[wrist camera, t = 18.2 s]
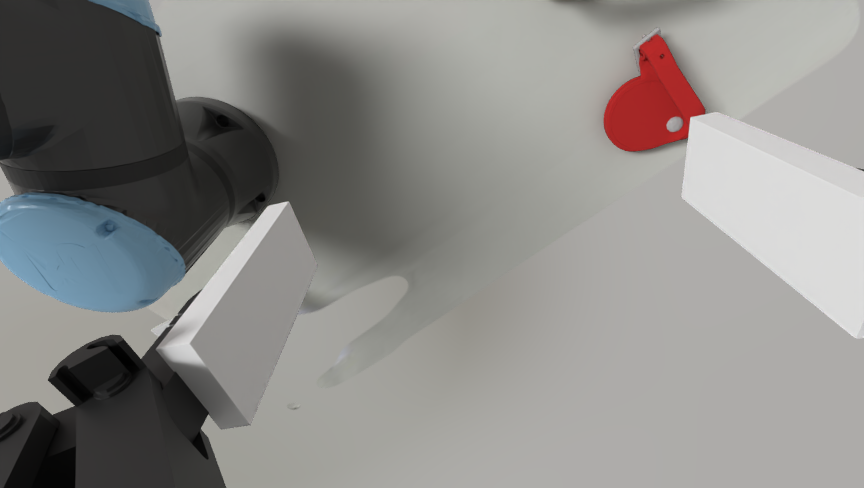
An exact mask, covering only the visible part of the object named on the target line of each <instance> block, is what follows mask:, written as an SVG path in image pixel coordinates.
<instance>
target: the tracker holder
mask: <svg viewBox="0 0 864 488" xmlns="http://www.w3.org/2000/svg"><path fill="white" fill-rule="evenodd" d="M633 50H634V54H635V58H636V62H637V66H638V71H639V72H640V73H641V76H638V77H636V78H633V79H631V80H629V81H628V82H626V83H625V84H623V85H622V86H621V87H620V88H619V89H618V90H617V91H616V92H615V93H614V94H613V96H612V97H611V99H610V100H609V102H608V104H607V107H606V110H605V113H604V128H605V132H606V134H607V136H608V138H609V139H610V140H611V141H612V143H613V144H614V145H616V146H617V147H618V148H620V149H622V150H625V151H641V150H647V149H652V148H655V147H658V146H661V145H664V144H667V143H670V142H674V141H678V140H683V139H686V138H688V135H689V126H690V117H694V116H699V115H704V114H705V108H704V106H703V105H702V103H701V101H700V100H699V98H698V97H697V95H696V94H695V92H694V91H693V89H692V88H691V86H690V85H689V83H688V82H687V80H686V79H685V77H684V76H683V74H682V72H681V71H680V69H679V68H678V66H677V64H676V62H675V60H674V58H673V56H672V54H671V52H670V50H669V48H668V46H667V44H666V43H665V41H664V40H663V39H662V38H661V33H660V28H656V29H654V30H653V31H652V32H651V33H649V34H648V35H647V36H646V35H643V36H642V40H641V41H639V42H638V43H637V44H636V45H635V46H634V47H633ZM662 56H663V57H662Z"/></svg>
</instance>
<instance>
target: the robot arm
mask: <svg viewBox="0 0 864 488" xmlns="http://www.w3.org/2000/svg"><path fill="white" fill-rule="evenodd" d="M161 36H162V34H161V30H160V27H159V26H158V25H157V24H156V23H155V20H154V16H153V13H152V10H151V6H150V3H149V0H0V166H1V168H2V170H3V172H4V174H5V176H6V178H7V180H8V182H9V184H10V186H11V188H12V190H13V192H14V194H15V195H14V196H11V197H10V198H6V199H5V200H3V201H2V202H0V260H1V262H2V263H3V264H4V265H5V266H6V267H7V268H8V269H9V270H10V271H11V272H12V273H14V274H15V275H16V276H17V277H18V278H20V279H21V280H22V281H24V282H26V283H27V284H28V285H30V286H31V287H33V288H35V289H36V290H38V291H40V292H42V293H43V294H46V295H49V296H51V297H53V298H55V299H57V300H59V301H61V302H64V303H67V304H69V305H72V306H76V307H79V308H84V309H88V310H93V311H100V312H127V311H133V310H138V309H141V308H144V307H146V306H149V305H150V304H152V303H154V302H155V301H157V300H158V299H159V298H161V297H162V296H163V295H164V294H165V293H166V292H167V291H168V290H169V289H170V288H171V287H172V286H175V285H176V284H177V283H178V282H180V281H181V280H182V279H183V277H184V276H185V274H186V273H187V272H188V270H189V269H190V268H191V267H192V266H193V265H194V263H195V262H196V261H197V260H198V259H199V258H200V256H201V255H202V254H203V253H204V252H205V251H206V249H207V248H208V247H209V246H210V245H211V243H212V242H213V241H214V240H215V239H216V238H217V236H218V235H219V234H220V233H221V232H222V230H223V229H224V228H226V227H229V226H231V225H234V224H237V223H240V222H242V221H245V220H247V219H249V218H251V217H253V216H254V215H256V214H257V213H258V212H260V211H261V210H262V209H263V207H264V206H265V205H266V204H267V203H268V201H269V200H270V199H271V197H272V196H273V194H274V192H275V189H276V187H277V182H278V164H277V159H276V156H275V153H274V150H273V148H272V146H271V144H270V142H269V140H268V138H267V137H266V135H265V134H264V133H263V131H262V130H261V129H260V128H259V127H258V126H257V125H256V123H255V122H253V121H252V120H251V119H250V118H249V117H248V116H247V115H245V114H244V113H242V112H241V111H239V110H238V109H236V108H234V107H233V106H230V105H228V104H226V103H224V102H221V101H218V100H214V99H210V98H204V97H189V98H183V99H179V100H175V96H174V93H173V89H172V85H171V81H170V77H169V73H168V69H167V65H166V61H165V57H164V53H163V49H162V45H161V41H160V37H161ZM681 198H683V199H684V200H685V201H686V202H688V203H689V204H690V205H691V206H692V207H694V208H695V209H696V210H698V211H699V212H700V213H701V214H702V215H704V216H705V217H706V218H707V219H709V220H710V221H711V222H712V223H714V224H715V225H716V226H717V227H718V228H720V229H721V230H722V231H723V232H725V233H726V234H727V235H728V236H730V237H731V238H732V239H733V240H735V241H736V242H737V243H738V244H740V245H741V246H742V247H743V248H745V249H746V250H747V251H748V252H749V253H751V254H752V255H753V256H754V257H756V258H757V259H758V260H759V261H760V262H762V263H763V264H764V265H765V266H767V267H768V268H769V269H770V270H772V271H773V272H774V273H775V274H776V275H778V276H779V277H780V278H781V279H783V280H784V281H785V282H786V283H788V284H789V285H790V286H791V287H793V288H794V289H795V290H796V291H798V292H799V293H800V294H801V295H802V296H804V297H805V298H806V299H807V300H809V301H810V302H811V303H812V304H814V305H815V306H816V307H817V308H818V309H820V310H821V311H822V312H823V313H825V314H826V315H827V316H828V317H830V318H831V319H832V320H833V321H835V322H836V323H837V324H838V325H839V326H841V327H842V328H843V329H844V330H846V331H847V332H848V333H849V334H851V335H852V336H853V337H854V338H856V339H857V338H864V170H863V169H859V168H854V167H851V166H849V165H847V164H844V163H842V162H839V161H837V160H834V159H832V158H829V157H827V156H824V155H822V154H820V153H817V152H815V151H812V150H810V149H807V148H805V147H802V146H800V145H798V144H795V143H793V142H790V141H788V140H785V139H783V138H780V137H778V136H775V135H773V134H771V133H768V132H766V131H763V130H761V129H758V128H756V127H753V126H751V125H748V124H746V123H743V122H741V121H739V120H736V119H734V118H731V117H729V116H726V115H724V114H721V113H719V112H713V113H709V114H704V115H699V116H694V117H690V126H689V135H688V144H687V153H686V162H685V170H684V179H683V188H682V197H681ZM317 267H318V265H317V262H316V260H315V258H314V256H313V254H312V251H311V249H310V247H309V245H308V242H307V240H306V238H305V236H304V234H303V231H302V229H301V227H300V225H299V222H298V220H297V218H296V216H295V214H294V211H293V209H292V207H291V205H290V202H289V201H288V202H283V203H278V204H274V205H269V206H268V207H267V208H266V209H265V210H264V212H263V213H262V214H261V215H260V217H259V218H258V219H257V221H256V222H255V223H254V224H253V226H252V227H251V228H250V230H249V231H248V232H247V233H246V235H245V236H244V237H243V238H242V240H241V241H240V242H239V244H238V245H237V246H236V247H235V249H234V250H233V251H232V252H231V254H230V255H229V256H228V258H227V259H226V260H225V261H224V263H223V264H222V265H221V266H220V268H219V269H218V270H217V272H216V273H215V274H214V275H213V277H212V278H211V279H210V281H209V282H208V283H207V284H206V286H205V287H204V288H203V289H202V290H200V291H199V292H198V293H197V294H195V295H194V296H193V297H192V298H190V299H189V300H188V301H187V303H186V304H185V305H184V306H183V308H182V309H181V310H180V311H179V313H178V316H175V318H174V319H173V320H172V321H171V322H170V324H169V327H166V329H165V330H164V331H163V332H162V334H161V335H160V336H159V337H158V339H157V340H156V341H155V343H154V344H153V345H152V346H151V347H150V349H149V350H148V351H147V352H146V354H145V355H144V356H143V357H142V359H140V358H139V357H138V355H137V354H136V353H135V352H134V351H133V350H132V348H131V347H130V346H129V345H128V344H127V343H126V341H125V340H124V339H123V338H122V337H121V336H120V335H109V336H105V337H101V338H99V339H97V340H94V341H92V342H90V343H88V344H86V345H84V346H82V347H81V348H79V349H77V350H76V351H74V352H72V353H71V354H70V355H69V356H67V357H66V358H65V359H64V360H62V361H61V362H60V363H59V364H58V365H57V366H56V367H55V368H54V370H53V371H52V372H51V374H50V376H49V379H48V381H49V382H51V384H52V385H54V386H55V387H56V388H57V389H58V390H59V391H60V392H61V393H62V394H63V395H64V396H66V397H67V399H68V400H70V401H71V402H72V403H73V404H74V405H75V406H74V407H71V408H69V409H67V410H64V411H61V412H59V413H56V414H53V415H52V414H50V413H49V412H48V411H47V410H46V409H45V408H44V407H42V406H41V405H40V404H39V403H38V402H28V403H25V404H22V405H19V406H16V407H14V408H12V409H10V410H8V411H6V412H3V413H1V414H0V488H226V486H225V483H224V480H223V478H222V475H221V472H220V469H219V467H218V464H217V461H216V458H215V455H214V453H213V450H212V447H211V444H210V442H209V439H208V437H207V436H206V435H205V434H204V432H203V431H202V430H201V427H202V425H203V423H204V421H205V419H206V417H207V415H208V414H209V415H210V417H211V418H212V419H213V420H214V421H215V423H216V424H217V425H218V426H219V428H220V429H227V428H234V427H241V426H248V425H251V423H252V420H253V418H254V415H255V413H256V411H257V408H258V406H259V403H260V401H261V399H262V396H263V394H264V392H265V390H266V387H267V385H268V382H269V380H270V377H271V375H272V373H273V371H274V368H275V366H276V364H277V361H278V359H279V356H280V354H281V352H282V349H283V347H284V344H285V342H286V340H287V338H288V335H289V333H290V331H291V328H292V326H293V324H294V321H295V319H296V317H297V314H298V312H299V309H300V307H301V305H302V302H303V300H304V298H305V295H306V293H307V291H308V288H309V286H310V284H311V281H312V279H313V276H314V274H315V272H316V269H317Z"/></svg>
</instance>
